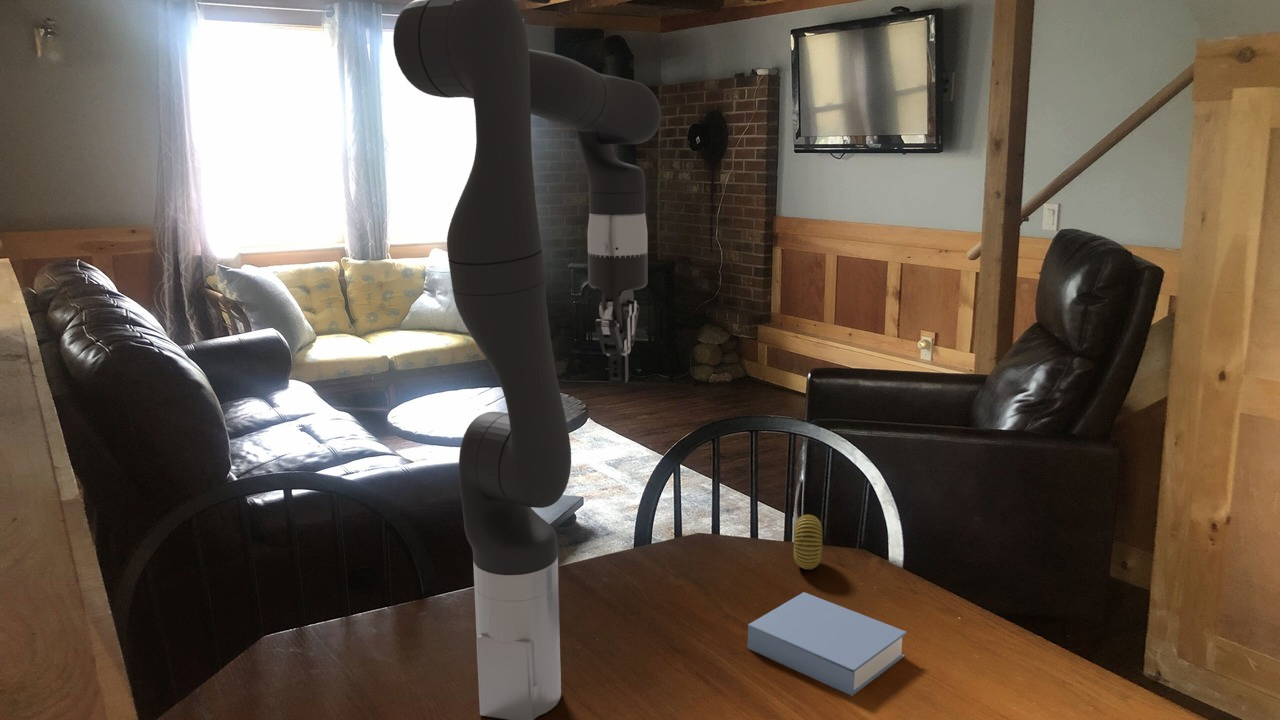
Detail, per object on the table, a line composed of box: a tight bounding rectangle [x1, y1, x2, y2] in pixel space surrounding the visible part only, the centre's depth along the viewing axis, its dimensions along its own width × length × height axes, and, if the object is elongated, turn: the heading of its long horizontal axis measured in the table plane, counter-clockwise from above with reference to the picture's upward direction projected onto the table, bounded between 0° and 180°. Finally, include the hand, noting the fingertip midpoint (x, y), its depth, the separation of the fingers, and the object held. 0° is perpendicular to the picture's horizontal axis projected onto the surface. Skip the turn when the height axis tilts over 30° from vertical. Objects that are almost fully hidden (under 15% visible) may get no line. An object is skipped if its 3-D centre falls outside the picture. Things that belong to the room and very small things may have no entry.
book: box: [747, 591, 907, 697], centre depth 118 cm, size 4×12×15 cm
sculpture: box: [793, 513, 823, 570], centre depth 141 cm, size 8×4×8 cm, turn 171°
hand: (618, 382), depth 124 cm, fingers closed
